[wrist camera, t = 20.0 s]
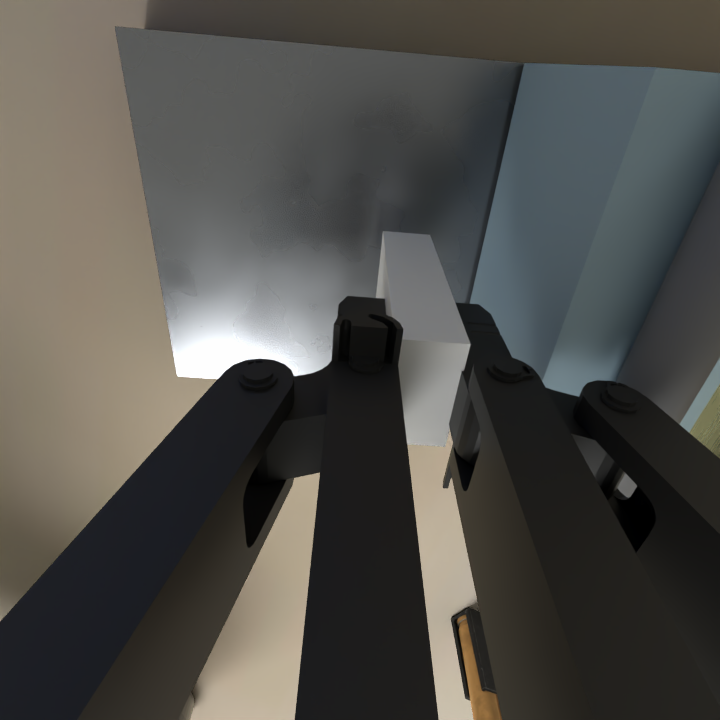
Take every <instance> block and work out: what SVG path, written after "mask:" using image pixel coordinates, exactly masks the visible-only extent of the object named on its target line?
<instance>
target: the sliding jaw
mask: <svg viewBox="0 0 720 720" xmlns="http://www.w3.org/2000/svg"><path fill="white" fill-rule="evenodd" d="M470 304H479V305H480V306H481V307H483V308H484V309H485V310H487V311H488V312H489V313H490V314H491V315H492V317H493V319H494V321H495V323H496V326H497V328H498V330H499V332H500V335H501V336H502V338H503V340H504V342H505V344H506V346H507V348H508V350H509V352H510V354H511V356H512V358H515V359H518V360H520V361H523V362H524V363H526V364H528V365H529V366H531V367H532V368H533V369H534V370H535V371H536V372H537V373H538V375H539V376H540V378H541V380H542V382H543V384H544V385H545V387H546V388H549V389H552V390H555V391H559V392H563V393H567V394H570V395H574V396H578V397H579V395H580V393H581V391H582V389H583V387H584V386H585V385H586V384H587V383H588V382H592V381H596V380H601V381H614V382H616V383H622V384H625V385H627V386H628V387H630V388H633V389H635V390H637V391H638V392H640V393H641V394H643V395H644V396H646V397H647V398H649V399H650V400H651V401H652V402H653V403H655V404H656V405H657V406H658V407H659V408H661V409H662V410H663V411H664V412H665V413H666V414H668V415H669V416H670V417H671V418H672V419H674V420H675V421H676V422H677V423H678V424H679V425H681V426H682V427H683V428H684V429H685V430H687V431H688V432H690V430H691V429H692V427H693V426H694V424H695V422H696V421H697V419H698V418H699V416H700V414H701V413H702V411H703V410H704V408H705V406H706V405H707V403H708V402H709V400H710V399H711V397H712V395H713V394H714V392H715V391H716V389H717V387H718V386H719V384H720V73H714V72H703V71H691V70H680V69H669V68H658V67H632V66H602V65H573V64H543V63H524V67H523V71H522V76H521V80H520V84H519V89H518V93H517V98H516V102H515V106H514V111H513V115H512V119H511V124H510V128H509V133H508V137H507V141H506V146H505V150H504V155H503V159H502V163H501V168H500V172H499V177H498V181H497V185H496V190H495V194H494V199H493V203H492V207H491V212H490V216H489V220H488V225H487V229H486V234H485V238H484V242H483V247H482V251H481V256H480V260H479V264H478V269H477V273H476V278H475V282H474V286H473V291H472V295H471V300H470ZM636 487H637V485H636V484H635V483H634V482H633V481H632V480H631V479H630V477H629V476H628V475H627V474H626V473H625V475H624V477H623V479H622V480H621V482H620V484H619V486H618V487H617V488H618V489H619V491H620V492H621V493H622V494H624V495H625V496H626V497H628V498H629V497H631V495H632V494H633V492H634V490H635V489H636Z"/></svg>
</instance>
